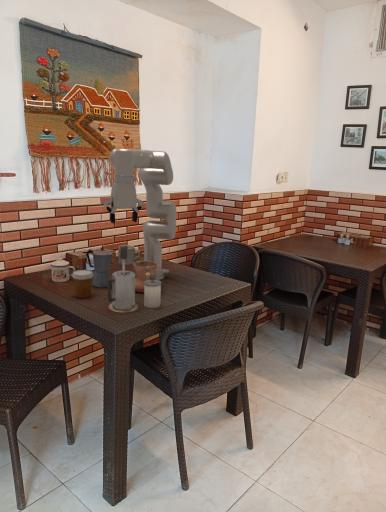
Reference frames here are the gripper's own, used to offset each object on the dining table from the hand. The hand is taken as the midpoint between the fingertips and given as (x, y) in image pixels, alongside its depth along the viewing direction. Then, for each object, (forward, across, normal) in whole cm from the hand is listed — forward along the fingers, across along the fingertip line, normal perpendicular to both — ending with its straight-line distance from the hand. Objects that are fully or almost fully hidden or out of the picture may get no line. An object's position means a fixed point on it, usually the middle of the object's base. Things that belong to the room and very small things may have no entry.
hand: (123, 222), depth 164 cm
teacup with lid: (+38, +12, -50) cm, 64 cm away
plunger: (+28, 0, 0) cm, 28 cm away
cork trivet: (+38, 0, 0) cm, 38 cm away
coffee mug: (+38, -33, -67) cm, 84 cm away
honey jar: (+38, +11, -21) cm, 45 cm away
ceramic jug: (+38, -19, -17) cm, 46 cm away
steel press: (+37, +1, 0) cm, 37 cm away
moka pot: (+38, -2, -34) cm, 51 cm away
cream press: (+38, -12, +4) cm, 40 cm away
